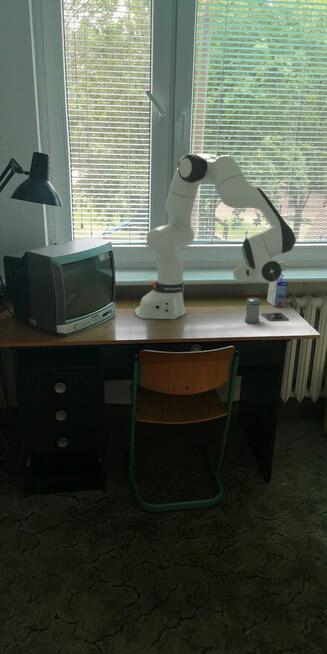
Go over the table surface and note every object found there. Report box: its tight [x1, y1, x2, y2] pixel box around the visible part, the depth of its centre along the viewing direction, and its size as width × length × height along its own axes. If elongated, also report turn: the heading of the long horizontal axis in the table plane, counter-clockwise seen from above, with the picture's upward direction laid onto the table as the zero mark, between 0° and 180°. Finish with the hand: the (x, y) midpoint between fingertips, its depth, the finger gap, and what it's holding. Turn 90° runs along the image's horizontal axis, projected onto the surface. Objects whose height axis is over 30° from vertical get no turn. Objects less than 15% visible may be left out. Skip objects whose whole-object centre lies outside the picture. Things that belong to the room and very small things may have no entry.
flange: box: [261, 312, 290, 322], centre depth 214 cm, size 9×9×1 cm
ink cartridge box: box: [266, 274, 288, 308], centre depth 231 cm, size 10×6×14 cm, turn 10°
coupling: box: [244, 297, 261, 325], centre depth 207 cm, size 6×6×10 cm
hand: (256, 269), depth 196 cm, fingers open, 8 cm apart
